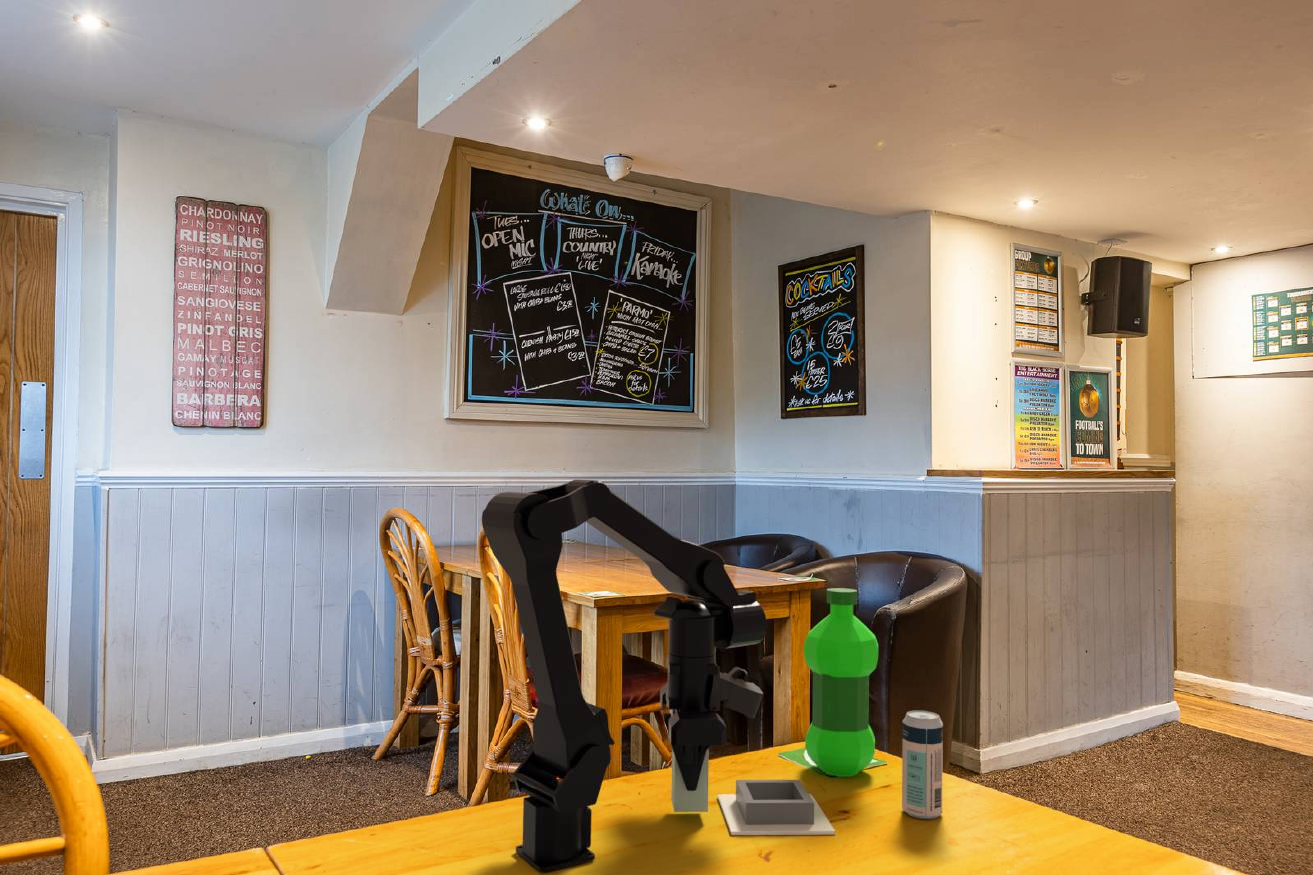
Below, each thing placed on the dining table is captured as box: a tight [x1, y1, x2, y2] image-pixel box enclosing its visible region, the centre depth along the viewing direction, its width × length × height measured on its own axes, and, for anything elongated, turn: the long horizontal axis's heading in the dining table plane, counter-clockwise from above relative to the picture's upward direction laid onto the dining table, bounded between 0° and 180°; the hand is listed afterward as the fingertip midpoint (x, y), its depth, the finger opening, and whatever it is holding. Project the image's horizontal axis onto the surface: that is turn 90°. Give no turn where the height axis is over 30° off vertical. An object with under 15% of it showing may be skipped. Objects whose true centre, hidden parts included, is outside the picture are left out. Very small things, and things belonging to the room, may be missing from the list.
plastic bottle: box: [803, 587, 879, 778], centre depth 130 cm, size 10×10×25 cm
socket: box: [717, 779, 836, 836], centre depth 112 cm, size 12×12×3 cm
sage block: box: [671, 748, 710, 813], centre depth 112 cm, size 4×4×8 cm
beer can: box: [901, 710, 944, 820], centre depth 114 cm, size 5×5×12 cm
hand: (689, 784), depth 112 cm, fingers closed on sage block, 4 cm apart
